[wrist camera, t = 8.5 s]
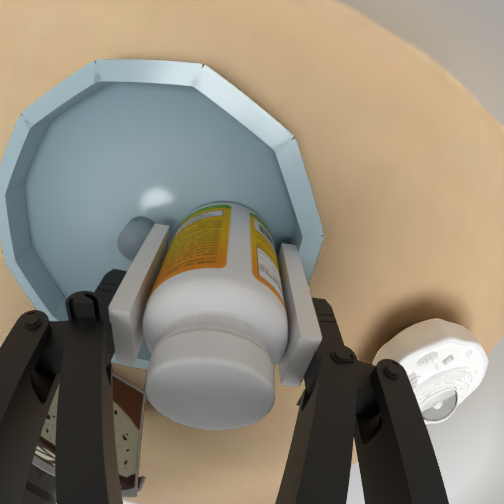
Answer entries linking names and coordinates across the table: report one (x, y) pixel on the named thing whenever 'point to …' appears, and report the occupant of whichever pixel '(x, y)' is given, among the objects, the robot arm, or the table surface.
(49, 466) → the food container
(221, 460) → the table surface
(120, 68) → the ring tray
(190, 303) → the supplement bottle
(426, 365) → the cell model
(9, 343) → the robot arm
